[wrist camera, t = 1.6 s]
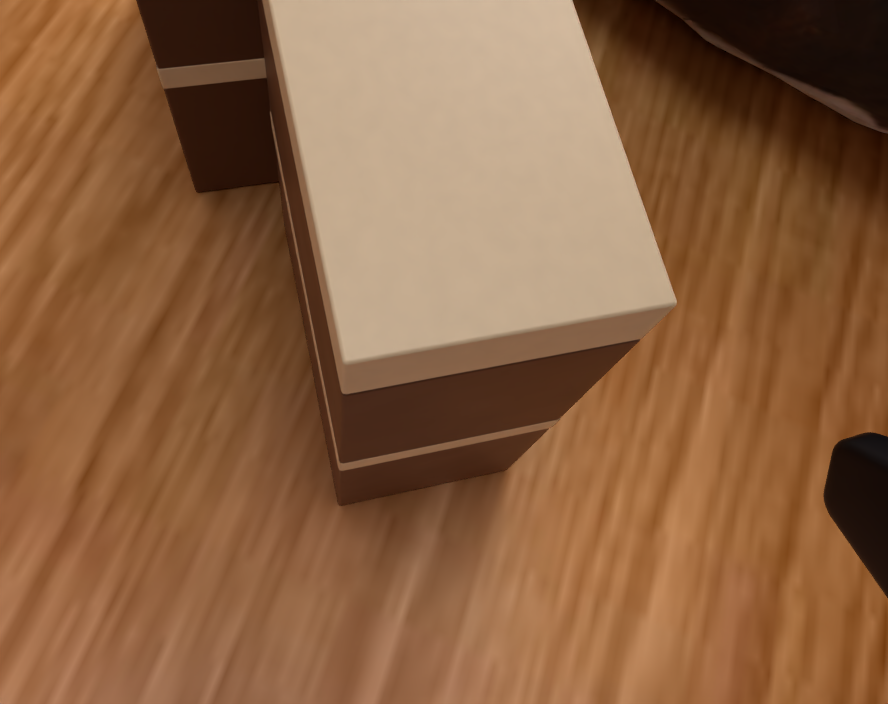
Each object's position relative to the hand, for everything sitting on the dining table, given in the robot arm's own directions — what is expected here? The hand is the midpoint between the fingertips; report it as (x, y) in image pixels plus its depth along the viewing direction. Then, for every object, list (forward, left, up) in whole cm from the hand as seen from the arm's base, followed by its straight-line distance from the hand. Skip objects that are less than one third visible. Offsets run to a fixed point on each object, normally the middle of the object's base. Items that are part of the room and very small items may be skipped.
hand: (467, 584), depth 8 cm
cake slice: (+5, -6, -14) cm, 16 cm away
